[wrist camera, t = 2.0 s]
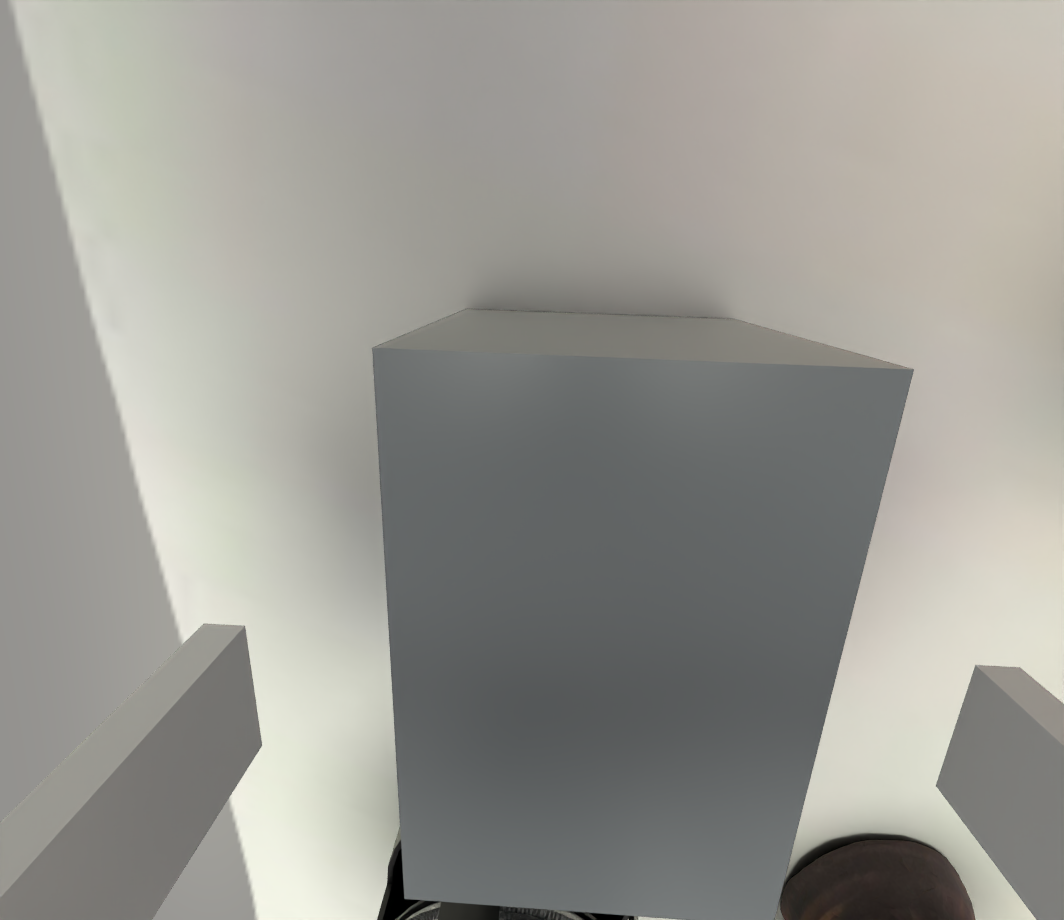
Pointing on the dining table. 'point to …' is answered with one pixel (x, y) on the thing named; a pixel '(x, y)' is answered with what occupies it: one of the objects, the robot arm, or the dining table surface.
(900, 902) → the mortar and pestle
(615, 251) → the dining table surface
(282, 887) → the dining table surface
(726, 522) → the grey rectangular block
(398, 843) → the french press
